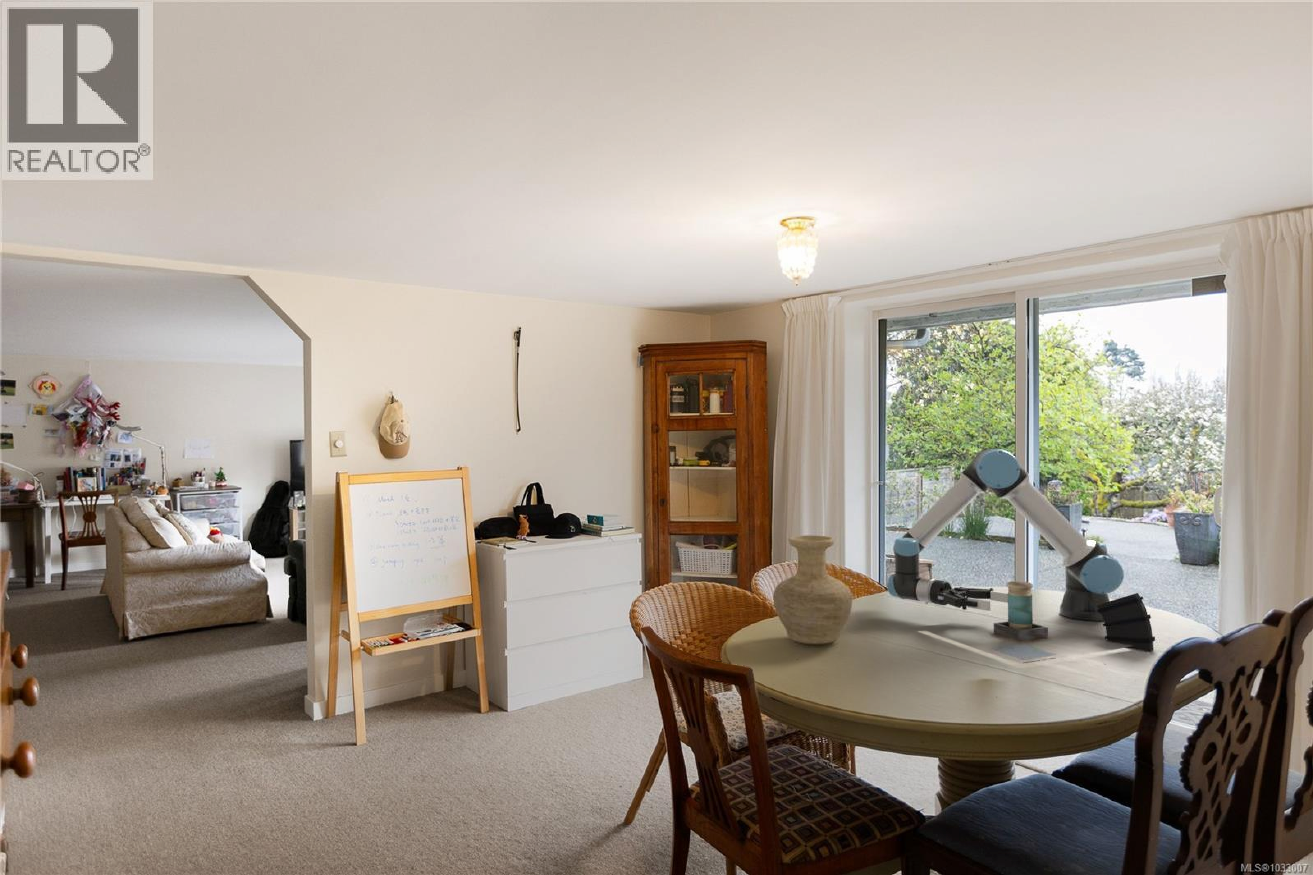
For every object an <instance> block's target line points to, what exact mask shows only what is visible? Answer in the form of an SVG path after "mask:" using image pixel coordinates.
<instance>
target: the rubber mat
mask: <svg viewBox="0 0 1313 875" xmlns="http://www.w3.org/2000/svg"><path fill="white" fill-rule="evenodd" d="M992 650H994V651H997V652H999V653H1003V654H1006V655H1009V656H1012V657H1014V658H1018V659H1020V660H1023V661H1025V660H1031V659H1036V658H1037V659H1038V658H1043V657H1049V656H1056V655H1057V654H1055V653H1052V652H1049V651H1046V650H1042V649H1039V648H1036V647H1033V646H1031V645H1026V644H1025V643H1020V644H1015V645H1008V646H1002V647H1000V646H999V647H994V648H992ZM1046 659H1047V658H1046ZM1046 659H1045V658H1044V659H1043V661H1047V660H1046ZM1054 659H1056V657H1051V658H1050V660H1054ZM1040 660H1041V659H1039V660H1033V661H1026V662H1024V664H1028V663H1035V662H1041V661H1040Z"/></svg>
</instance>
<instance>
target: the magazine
mask: <svg viewBox="0 0 1313 875" xmlns="http://www.w3.org/2000/svg"><path fill="white" fill-rule="evenodd" d="M1143 600H1144V597H1143V596H1140V594H1139V592H1136V593H1133V594H1129V595H1126V596H1123V597H1119V598H1115V599H1112V600H1110V601H1109V602H1106V603H1102V604H1099V605H1097V607H1098V610H1097V612H1098V613H1101V615H1102V617H1103V620H1104V621H1103V622H1104V623H1103V624H1102V626H1103V627H1105V631H1106V635H1105V636H1104V640H1106V642H1111V643H1117V644H1121V645H1127V646H1124V649H1126V648H1127V649H1131V650H1136V651H1143V652H1147V653H1150V652H1152V651H1154V642H1155V641H1156V636H1153V628H1152V624H1151V621H1150V620H1151V618H1152V616H1151V614H1148V611H1147V608H1146V606H1145V603H1144V602H1143Z"/></svg>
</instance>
